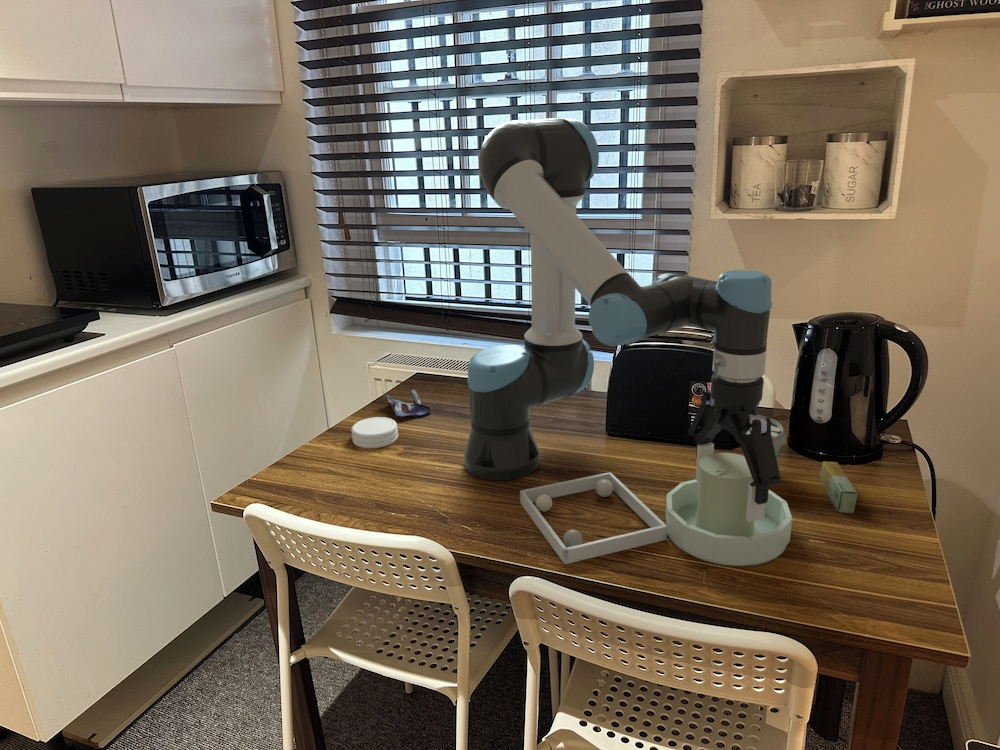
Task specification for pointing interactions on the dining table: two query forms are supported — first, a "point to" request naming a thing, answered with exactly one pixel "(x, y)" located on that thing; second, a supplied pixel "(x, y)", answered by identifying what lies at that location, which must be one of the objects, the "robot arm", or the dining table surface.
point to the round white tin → (374, 432)
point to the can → (724, 495)
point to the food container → (775, 435)
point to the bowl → (726, 548)
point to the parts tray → (600, 546)
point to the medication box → (838, 487)
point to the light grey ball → (604, 488)
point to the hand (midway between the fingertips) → (727, 498)
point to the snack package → (414, 407)
